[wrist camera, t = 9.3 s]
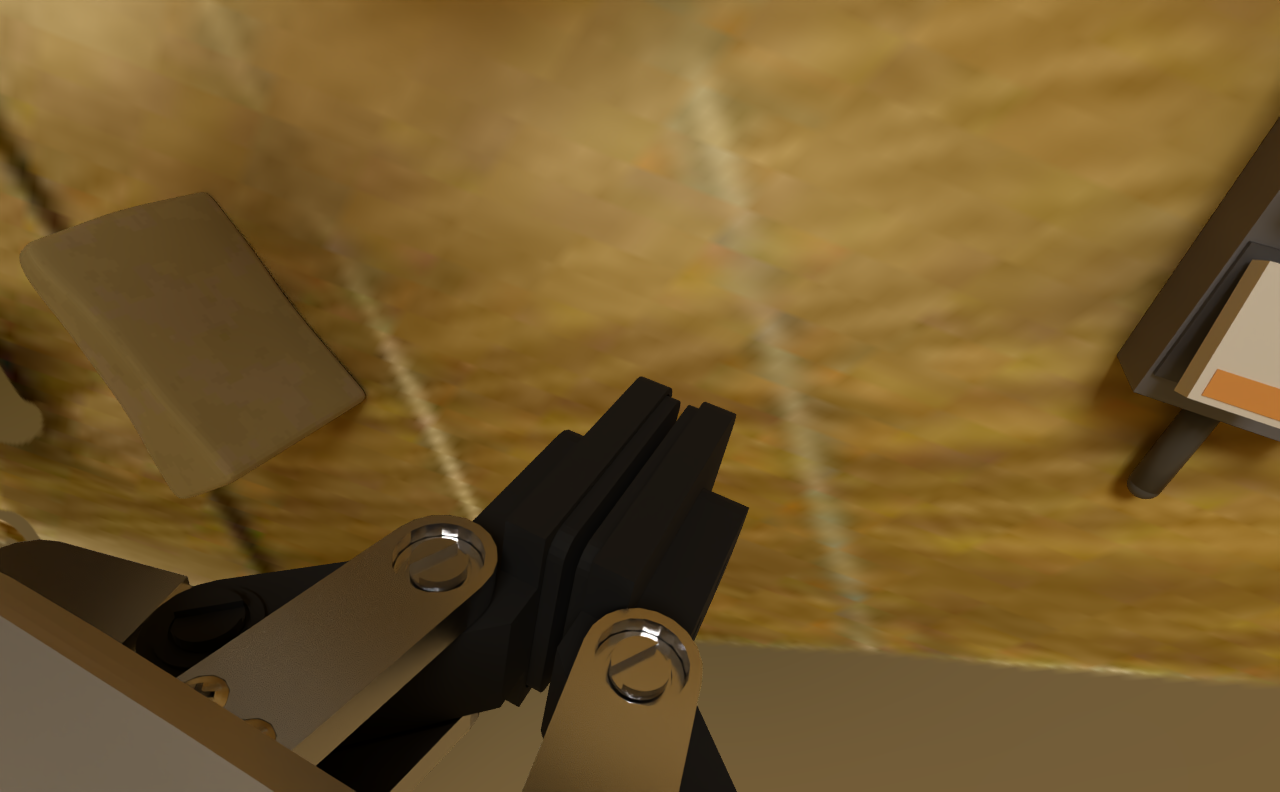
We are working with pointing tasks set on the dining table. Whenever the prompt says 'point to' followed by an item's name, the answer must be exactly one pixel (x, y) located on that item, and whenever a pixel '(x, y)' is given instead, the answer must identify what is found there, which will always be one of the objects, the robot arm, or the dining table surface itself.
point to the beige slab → (190, 338)
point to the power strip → (1202, 315)
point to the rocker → (1242, 351)
